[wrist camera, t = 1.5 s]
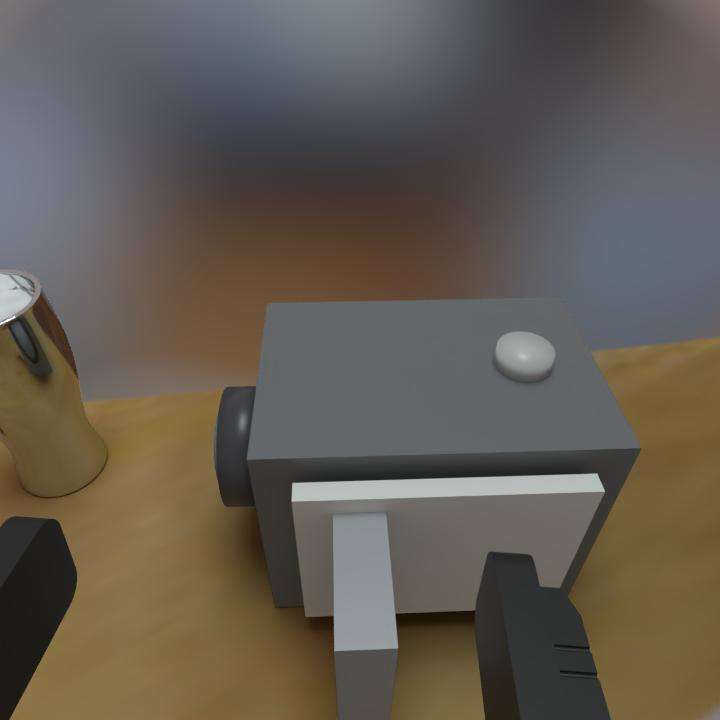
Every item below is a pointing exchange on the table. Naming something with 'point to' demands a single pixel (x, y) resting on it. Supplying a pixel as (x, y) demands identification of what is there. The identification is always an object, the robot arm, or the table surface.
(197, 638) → the table surface
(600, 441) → the box
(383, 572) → the side door
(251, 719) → the table surface
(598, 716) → the robot arm
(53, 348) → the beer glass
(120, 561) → the table surface
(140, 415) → the table surface
